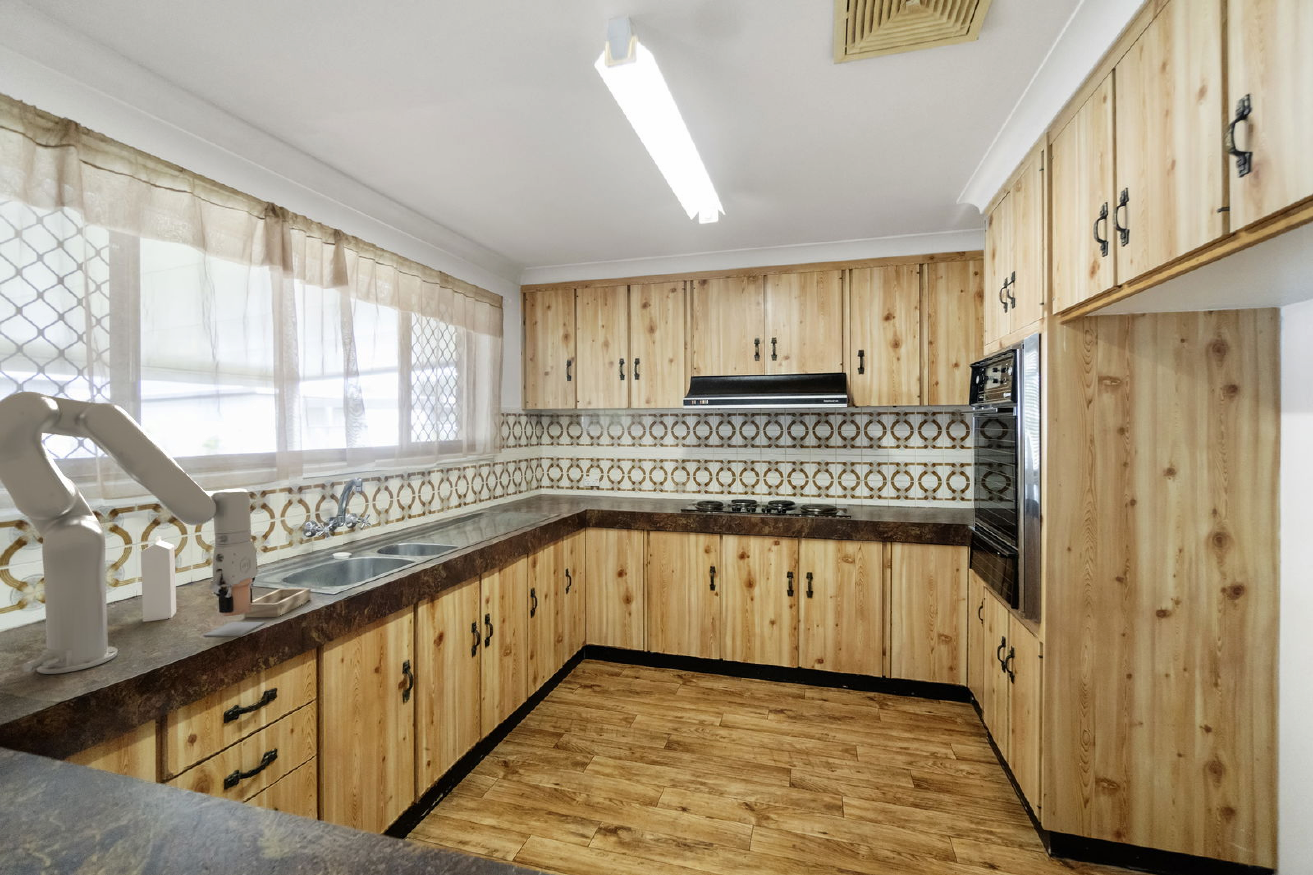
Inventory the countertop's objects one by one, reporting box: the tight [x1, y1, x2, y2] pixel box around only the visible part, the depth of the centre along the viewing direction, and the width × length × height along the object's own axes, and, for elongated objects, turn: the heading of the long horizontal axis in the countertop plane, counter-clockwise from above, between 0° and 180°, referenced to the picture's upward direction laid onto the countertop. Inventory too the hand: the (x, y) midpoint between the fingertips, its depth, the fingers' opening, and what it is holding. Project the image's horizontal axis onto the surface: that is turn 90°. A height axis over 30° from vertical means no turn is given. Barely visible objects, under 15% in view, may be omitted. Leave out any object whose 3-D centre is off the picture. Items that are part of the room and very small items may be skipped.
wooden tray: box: [243, 587, 312, 618], centre depth 165 cm, size 15×9×4 cm, turn 0°
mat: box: [203, 621, 266, 637], centre depth 148 cm, size 9×9×1 cm
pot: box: [221, 578, 252, 617], centre depth 148 cm, size 7×7×8 cm
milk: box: [140, 534, 177, 623], centre depth 158 cm, size 6×6×22 cm
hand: (236, 607), depth 148 cm, fingers closed on pot, 6 cm apart
